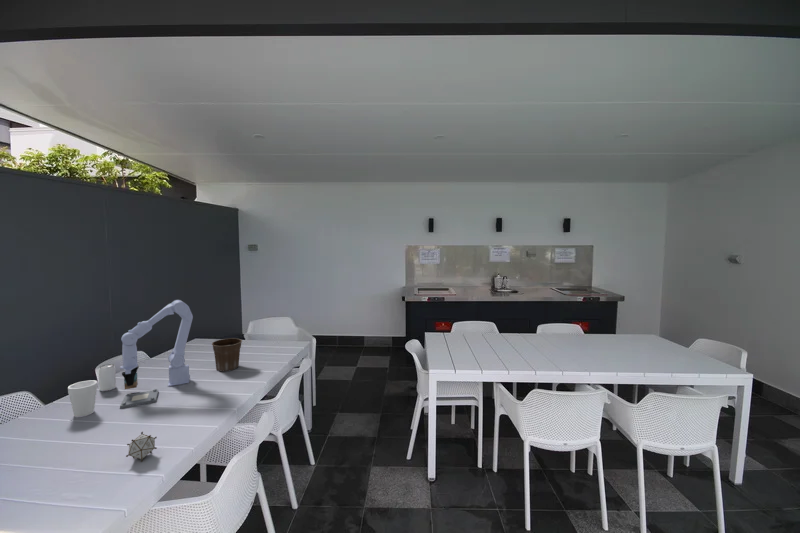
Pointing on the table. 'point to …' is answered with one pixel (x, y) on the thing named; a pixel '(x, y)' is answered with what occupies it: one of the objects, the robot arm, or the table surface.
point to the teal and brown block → (133, 383)
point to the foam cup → (83, 397)
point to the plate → (139, 398)
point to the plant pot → (227, 353)
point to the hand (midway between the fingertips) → (131, 383)
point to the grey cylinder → (107, 377)
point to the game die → (141, 446)
